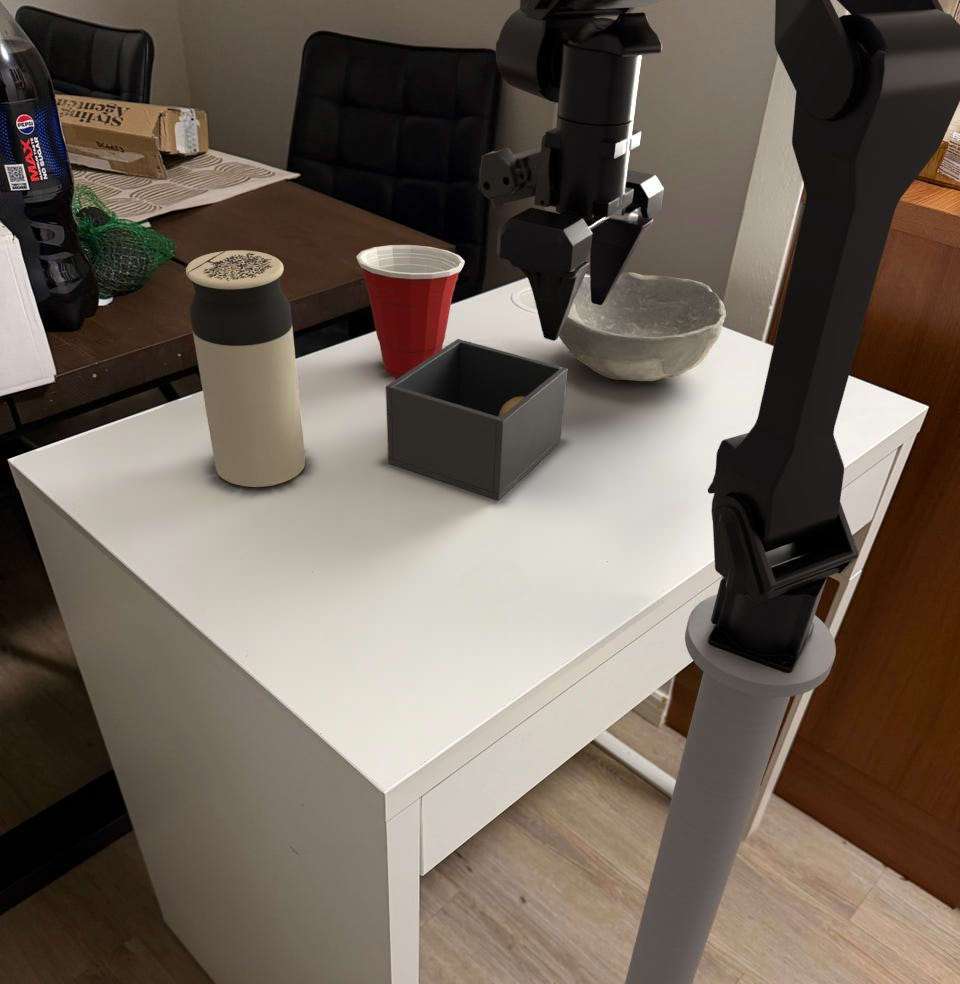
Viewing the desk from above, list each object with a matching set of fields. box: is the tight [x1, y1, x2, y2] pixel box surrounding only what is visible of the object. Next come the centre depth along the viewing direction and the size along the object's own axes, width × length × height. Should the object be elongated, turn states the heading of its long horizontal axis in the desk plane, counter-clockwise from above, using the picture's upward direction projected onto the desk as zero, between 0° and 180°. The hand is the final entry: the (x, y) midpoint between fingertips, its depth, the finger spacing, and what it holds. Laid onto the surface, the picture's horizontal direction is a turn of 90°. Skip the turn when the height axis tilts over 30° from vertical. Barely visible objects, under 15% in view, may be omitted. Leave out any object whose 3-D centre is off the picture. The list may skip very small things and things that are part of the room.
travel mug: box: [185, 249, 306, 488], centre depth 80 cm, size 8×8×18 cm
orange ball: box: [498, 396, 525, 417], centre depth 89 cm, size 4×4×4 cm
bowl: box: [558, 272, 727, 382], centre depth 102 cm, size 18×18×8 cm
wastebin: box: [385, 338, 569, 501], centre depth 87 cm, size 12×12×8 cm
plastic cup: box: [356, 244, 465, 379], centre depth 99 cm, size 11×11×12 cm
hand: (574, 320), depth 81 cm, fingers open, 9 cm apart
